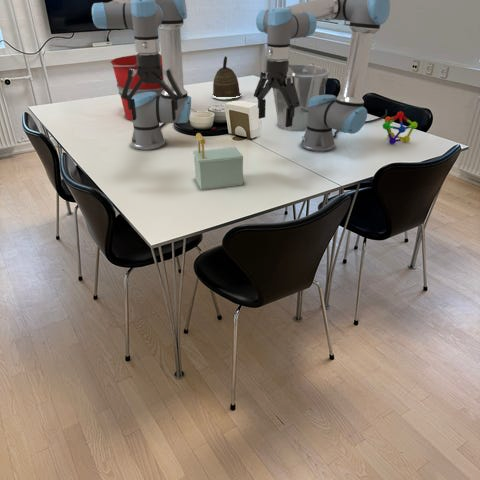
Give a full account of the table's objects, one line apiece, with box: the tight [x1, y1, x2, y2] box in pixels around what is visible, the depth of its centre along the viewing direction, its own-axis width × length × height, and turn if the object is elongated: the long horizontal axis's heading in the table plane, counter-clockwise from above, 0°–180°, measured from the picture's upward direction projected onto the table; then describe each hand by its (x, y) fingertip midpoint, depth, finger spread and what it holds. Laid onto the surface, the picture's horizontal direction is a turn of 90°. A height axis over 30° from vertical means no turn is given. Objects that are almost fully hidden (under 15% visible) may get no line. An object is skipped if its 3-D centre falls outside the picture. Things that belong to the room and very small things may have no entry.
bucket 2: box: [272, 63, 330, 131], centre depth 226 cm, size 30×30×28 cm
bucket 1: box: [107, 54, 163, 122], centre depth 239 cm, size 35×35×30 cm
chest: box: [193, 155, 244, 191], centre depth 169 cm, size 16×10×11 cm, turn 107°
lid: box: [192, 132, 244, 163], centre depth 164 cm, size 17×10×8 cm, turn 107°
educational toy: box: [382, 110, 418, 145], centre depth 207 cm, size 16×13×15 cm
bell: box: [212, 56, 242, 97], centre depth 278 cm, size 19×26×20 cm
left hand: (154, 119), depth 152 cm, fingers open, 13 cm apart
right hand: (274, 122), depth 160 cm, fingers open, 13 cm apart
